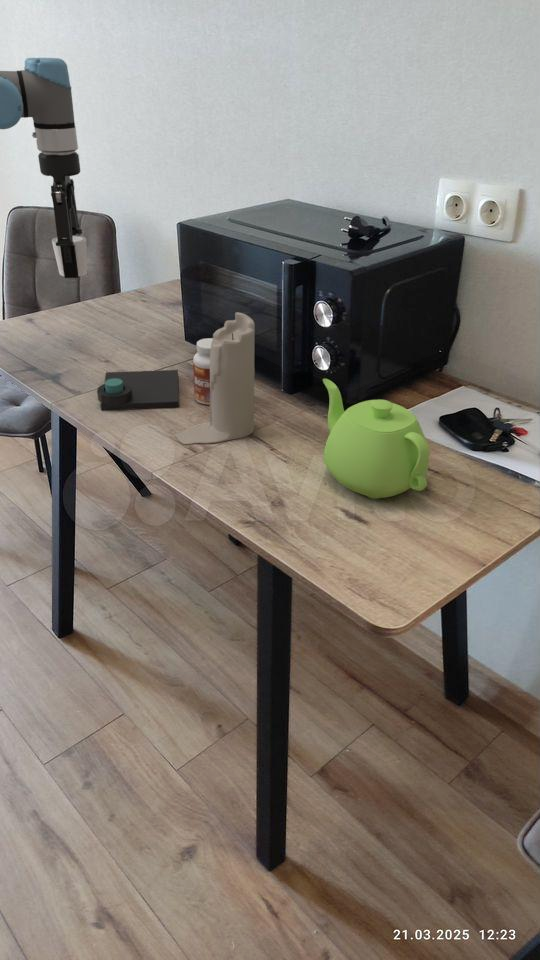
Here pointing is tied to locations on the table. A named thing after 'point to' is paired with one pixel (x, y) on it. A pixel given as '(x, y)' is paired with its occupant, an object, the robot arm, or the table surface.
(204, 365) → the pill bottle
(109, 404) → the scale
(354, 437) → the teapot
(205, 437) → the candle
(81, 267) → the white cup
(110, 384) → the button
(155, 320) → the table surface
